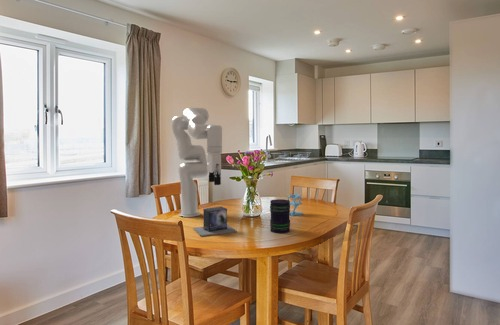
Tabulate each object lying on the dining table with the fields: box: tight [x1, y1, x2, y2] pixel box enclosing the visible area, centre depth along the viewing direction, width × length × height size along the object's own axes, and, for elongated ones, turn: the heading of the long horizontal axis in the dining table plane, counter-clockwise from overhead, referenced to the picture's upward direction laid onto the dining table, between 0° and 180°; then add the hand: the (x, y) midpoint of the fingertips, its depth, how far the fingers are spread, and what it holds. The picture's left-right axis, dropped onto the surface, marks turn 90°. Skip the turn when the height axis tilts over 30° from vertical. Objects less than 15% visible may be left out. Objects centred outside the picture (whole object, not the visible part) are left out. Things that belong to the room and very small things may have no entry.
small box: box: [202, 206, 228, 232], centre depth 180 cm, size 11×6×10 cm, turn 124°
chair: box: [286, 193, 304, 217], centre depth 215 cm, size 8×8×12 cm
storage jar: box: [269, 198, 291, 234], centre depth 178 cm, size 10×10×15 cm
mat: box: [192, 224, 238, 237], centre depth 180 cm, size 15×18×1 cm
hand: (214, 183), depth 184 cm, fingers open, 9 cm apart
